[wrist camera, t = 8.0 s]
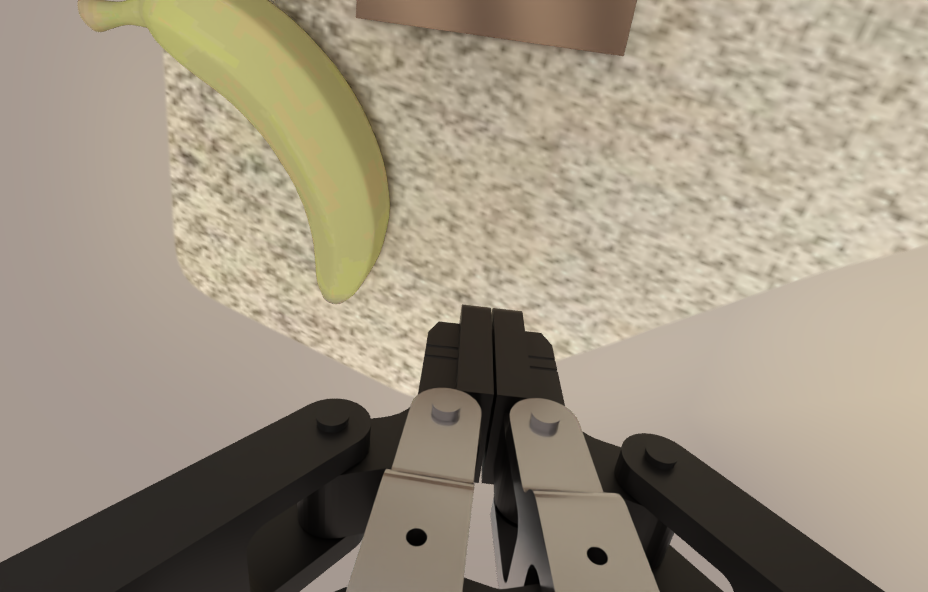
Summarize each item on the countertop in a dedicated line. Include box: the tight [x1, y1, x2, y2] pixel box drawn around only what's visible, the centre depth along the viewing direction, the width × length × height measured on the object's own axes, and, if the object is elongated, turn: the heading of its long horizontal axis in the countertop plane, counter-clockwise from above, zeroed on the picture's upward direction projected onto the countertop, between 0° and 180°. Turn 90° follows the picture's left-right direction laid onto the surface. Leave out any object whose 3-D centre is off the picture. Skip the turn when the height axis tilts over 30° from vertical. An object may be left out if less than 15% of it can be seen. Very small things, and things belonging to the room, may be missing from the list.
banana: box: [78, 0, 390, 304], centre depth 31 cm, size 14×6×20 cm
